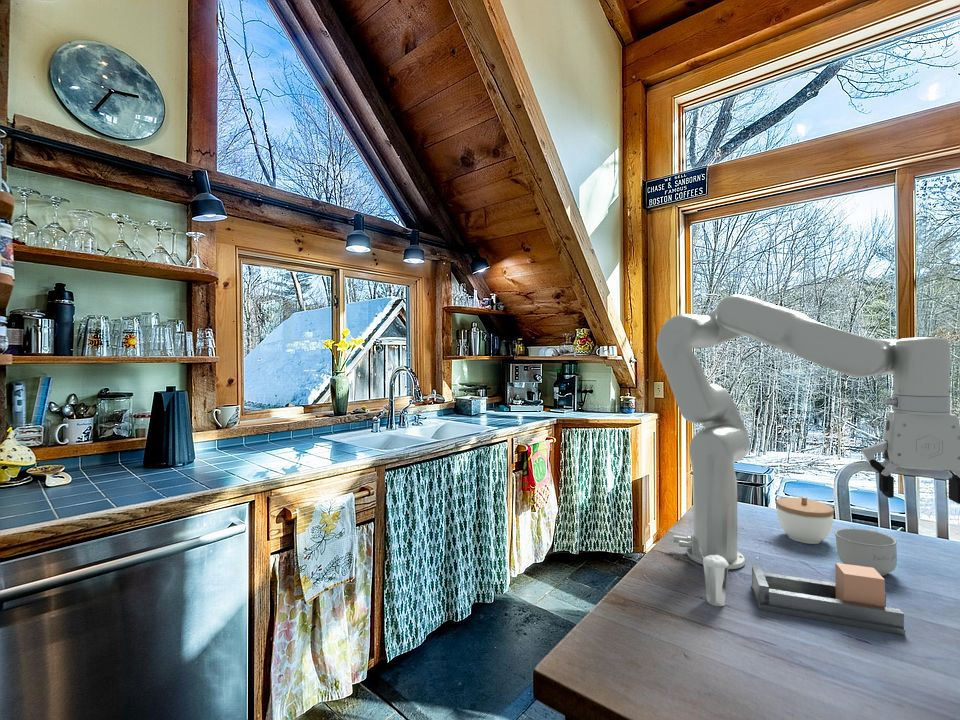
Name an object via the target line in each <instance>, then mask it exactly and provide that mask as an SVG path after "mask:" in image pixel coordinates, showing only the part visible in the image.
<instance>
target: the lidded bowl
mask: <svg viewBox="0 0 960 720" xmlns="http://www.w3.org/2000/svg"><path fill="white" fill-rule="evenodd" d="M775 504H776V517H777V520H778V524H779V526H780V528H781V529H782V530H783V532H784V533H785V535H787V537H788V538H789V539H790V540H792V541H795V542H799V543H802V544H807V545H818V544H820V543H821V542H822V541H823V540H826V539H827V538H828V536H830V534H831V532H832V530H833V524H834V515H835V509H834V508H833V507H832V506H831V505H829V504H826V503H824V502H820V501H818V500H813V499H808V498H807V497H805V496H801V497H800V498H798V497H782V498H778V499H776V500H775Z"/></svg>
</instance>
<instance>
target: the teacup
mask: <svg viewBox="0 0 960 720" xmlns="http://www.w3.org/2000/svg"><path fill="white" fill-rule="evenodd" d="M834 536H835V541H836V551H837V555H838V559H839V560H840V562H842V564H849V565H857V566H864V567H871V568H874V569H875V570H876V571H877V572H878V573H879V574H880V575H881V576H882V577H883V576H887V575H888V574H889V573H892V572H894V570H896V568H897V563H898V555H897V544H898V543H897V542H898V541H897V540H896V538H894V537H892V536H891V535H888V534H885V533H883V532H879V531H878V530H877V529H872V528H870V529H863V528H852V527H851V528H841V529H836V530H835V532H834Z"/></svg>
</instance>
